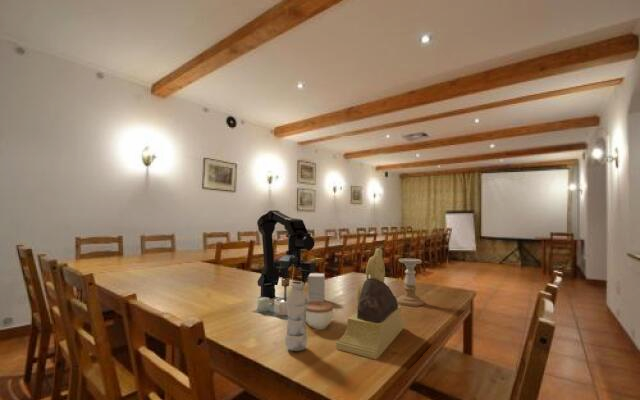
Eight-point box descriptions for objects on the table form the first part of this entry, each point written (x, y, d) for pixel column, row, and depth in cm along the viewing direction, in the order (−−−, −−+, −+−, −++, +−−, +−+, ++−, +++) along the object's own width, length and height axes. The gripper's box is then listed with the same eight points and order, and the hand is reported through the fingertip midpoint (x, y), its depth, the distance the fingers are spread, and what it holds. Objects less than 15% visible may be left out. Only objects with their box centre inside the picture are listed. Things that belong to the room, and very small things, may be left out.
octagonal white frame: (268, 314, 123) (268, 301, 123) (282, 307, 131) (283, 296, 131) (284, 317, 118) (285, 304, 119) (299, 311, 127) (299, 299, 127)
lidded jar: (311, 334, 104) (312, 306, 105) (299, 324, 114) (299, 298, 114) (338, 329, 109) (338, 302, 110) (324, 319, 119) (324, 295, 119)
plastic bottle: (285, 345, 95) (286, 280, 96) (306, 344, 96) (307, 280, 97) (284, 354, 89) (286, 285, 90) (307, 354, 89) (308, 285, 90)
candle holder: (427, 306, 138) (427, 261, 139) (400, 306, 138) (400, 261, 139) (419, 299, 150) (419, 258, 151) (394, 298, 150) (394, 257, 151)
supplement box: (324, 299, 147) (325, 273, 147) (323, 304, 139) (323, 276, 140) (309, 299, 147) (310, 272, 148) (307, 303, 140) (308, 275, 141)
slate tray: (251, 313, 125) (251, 311, 125) (275, 303, 139) (275, 302, 139) (295, 323, 114) (295, 321, 114) (316, 311, 128) (316, 310, 128)
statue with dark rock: (369, 322, 117) (370, 243, 119) (403, 328, 111) (403, 245, 112) (336, 349, 93) (337, 250, 94) (376, 359, 87) (377, 253, 88)
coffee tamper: (275, 302, 124) (275, 279, 125) (283, 298, 129) (284, 276, 130) (286, 304, 122) (287, 280, 122) (294, 300, 127) (295, 278, 127)
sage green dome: (254, 311, 126) (255, 299, 126) (262, 308, 130) (263, 296, 130) (264, 313, 123) (264, 301, 123) (271, 310, 127) (272, 298, 128)
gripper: (265, 248, 130) (265, 285, 129) (302, 251, 120) (302, 291, 120) (281, 246, 139) (281, 280, 138) (316, 248, 130) (316, 285, 129)
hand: (294, 284), depth 131 cm, fingers open, 9 cm apart
